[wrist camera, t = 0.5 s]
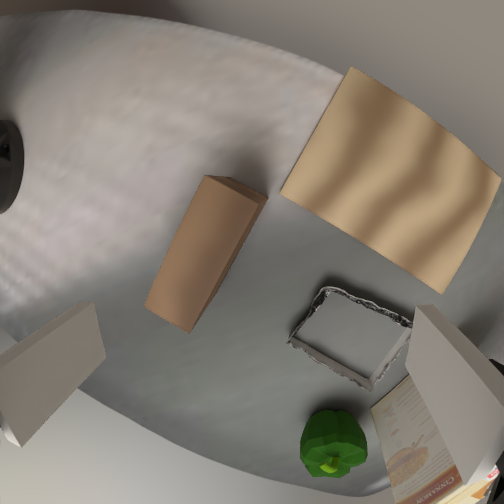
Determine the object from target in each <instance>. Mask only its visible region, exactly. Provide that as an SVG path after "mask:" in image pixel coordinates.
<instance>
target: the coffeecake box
mask: <svg viewBox="0 0 504 504" xmlns="http://www.w3.org/2000/svg"><path fill="white" fill-rule="evenodd" d="M370 411H371V414H372V418H373V421H374V424H375V428H376V431H377V435H378V438H379V441H380V445H381V449H382V453H383V456H384V460H385V464H386V468H387V471H388V475H389V479H390V483H391V487H392V491H393V495H394V499H395V503H396V504H475V503H476V502H478V501H479V500H480V499H482V498H483V497H485V496H483V495H484V494H485V492H486V490H487V489H488V488H489V486H490V485H491V484H492V482H493V481H494V480H495V478H496V477H497V475H498V474H499V473H500V472H499V470H498V468H497V466H496V465H495V466H494V468H493V469H492V471H491V472H490V474H489V475H488V476H487V478H486V479H483V480H481V481H478V482H475V483H473V484H470V485H467V486H465V485H464V483H463V481H462V478H461V476H460V474H459V472H458V469H457V467H456V465H455V463H454V461H453V458H452V456H451V454H450V452H449V450H448V448H447V446H446V444H445V442H444V440H443V438H442V435H441V433H440V431H439V429H438V427H437V425H436V423H435V421H434V419H433V418H432V416H431V414H430V412H429V410H428V408H427V406H426V404H425V402H424V400H423V398H422V396H421V395H420V393H419V391H418V389H417V387H416V385H415V383H414V382H413V380H412V378H411V376H410V374H409V375H408V376H407V377H406V378H405V379H404V380H403V381H402V382H401V383H399V384H398V385H397V386H396V387H395V388H394V389H393V390H392V391H391V392H390V393H388V394H387V395H386V396H385V397H384V398H383V399H381V400H380V401H379V402H378V403H377V404H375V405H374V406H373V407H372V408H371V409H370ZM490 492H491V491H490ZM490 492H489V493H490Z"/></svg>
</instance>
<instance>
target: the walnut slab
mask: <svg viewBox="0 0 504 504" xmlns="http://www.w3.org/2000/svg"><path fill="white" fill-rule="evenodd" d="M267 200H268V198H267V197H265V196H263V195H262V194H260V193H258V192H256V191H254V190H253V189H251V188H249V187H247V186H245V185H243V184H241V183H240V182H238V181H236V180H234V179H232V178H230V177H220V176H210V175H205V176H204V178H203V180H202V182H201V184H200V186H199V188H198V189H197V191H196V193H195V195H194V197H193V199H192V201H191V203H190V206H189V208H188V210H187V212H186V214H185V216H184V218H183V220H182V222H181V224H180V226H179V228H178V230H177V232H176V235H175V237H174V239H173V241H172V243H171V245H170V247H169V250H168V252H167V254H166V256H165V258H164V261H163V263H162V265H161V267H160V270H159V272H158V274H157V276H156V279H155V281H154V283H153V286H152V288H151V290H150V292H149V295H148V297H147V300H146V302H145V304H144V307H146V308H147V309H149V310H151V311H152V312H154V313H155V314H157V315H159V316H160V317H162V318H164V319H165V320H167V321H169V322H170V323H172V324H174V325H175V326H177V327H179V328H180V329H182V330H184V331H186V332H187V333H190V332H191V330H192V329H193V327H194V326H195V324H196V323H197V321H198V320H199V318H200V317H201V315H202V314H203V312H204V311H205V309H206V308H207V306H208V305H209V303H210V302H211V300H212V299H213V297H214V296H215V294H216V293H217V291H218V289H219V287H220V285H221V283H222V282H223V280H224V278H225V276H226V274H227V272H228V271H229V269H230V267H231V265H232V263H233V261H234V260H235V258H236V256H237V254H238V252H239V251H240V249H241V247H242V245H243V243H244V241H245V240H246V238H247V236H248V234H249V232H250V231H251V229H252V227H253V225H254V223H255V221H256V220H257V218H258V216H259V214H260V212H261V211H262V209H263V207H264V205H265V203H266V202H267Z"/></svg>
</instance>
